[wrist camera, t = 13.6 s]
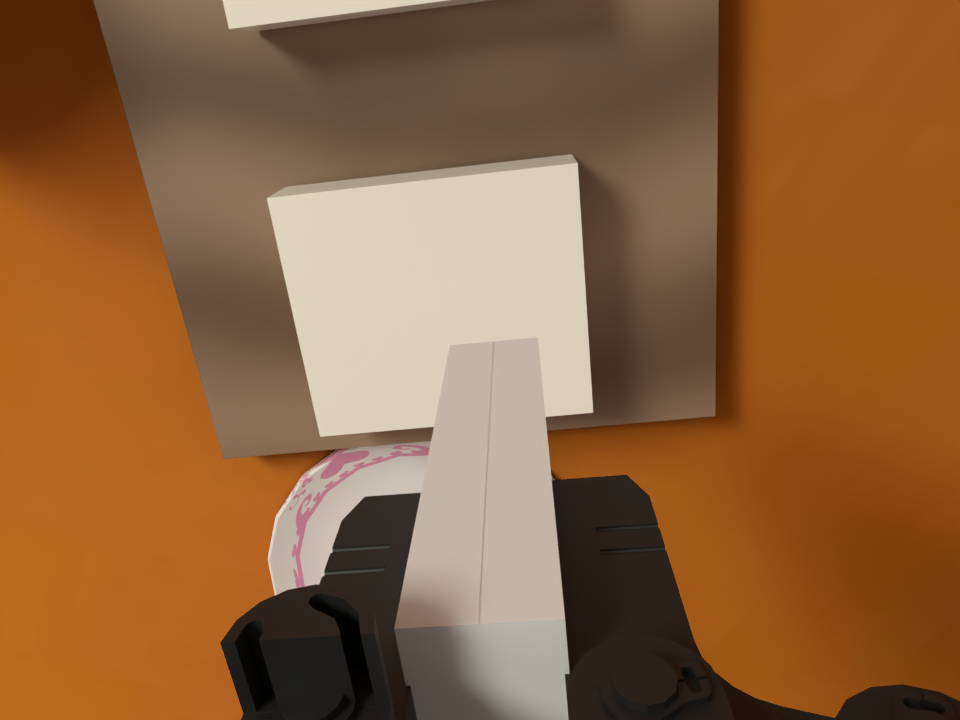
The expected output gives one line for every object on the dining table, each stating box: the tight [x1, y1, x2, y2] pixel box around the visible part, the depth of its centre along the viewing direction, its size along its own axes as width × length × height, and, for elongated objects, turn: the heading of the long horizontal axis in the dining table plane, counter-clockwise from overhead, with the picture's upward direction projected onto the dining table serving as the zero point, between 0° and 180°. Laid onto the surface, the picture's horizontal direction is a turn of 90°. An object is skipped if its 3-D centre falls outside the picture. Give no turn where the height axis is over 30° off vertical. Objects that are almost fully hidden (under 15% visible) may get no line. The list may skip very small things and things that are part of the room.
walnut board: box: [93, 0, 719, 459], centre depth 20 cm, size 21×16×1 cm
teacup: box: [268, 441, 555, 595], centre depth 24 cm, size 12×12×6 cm
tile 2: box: [267, 154, 593, 437], centre depth 21 cm, size 7×2×8 cm
